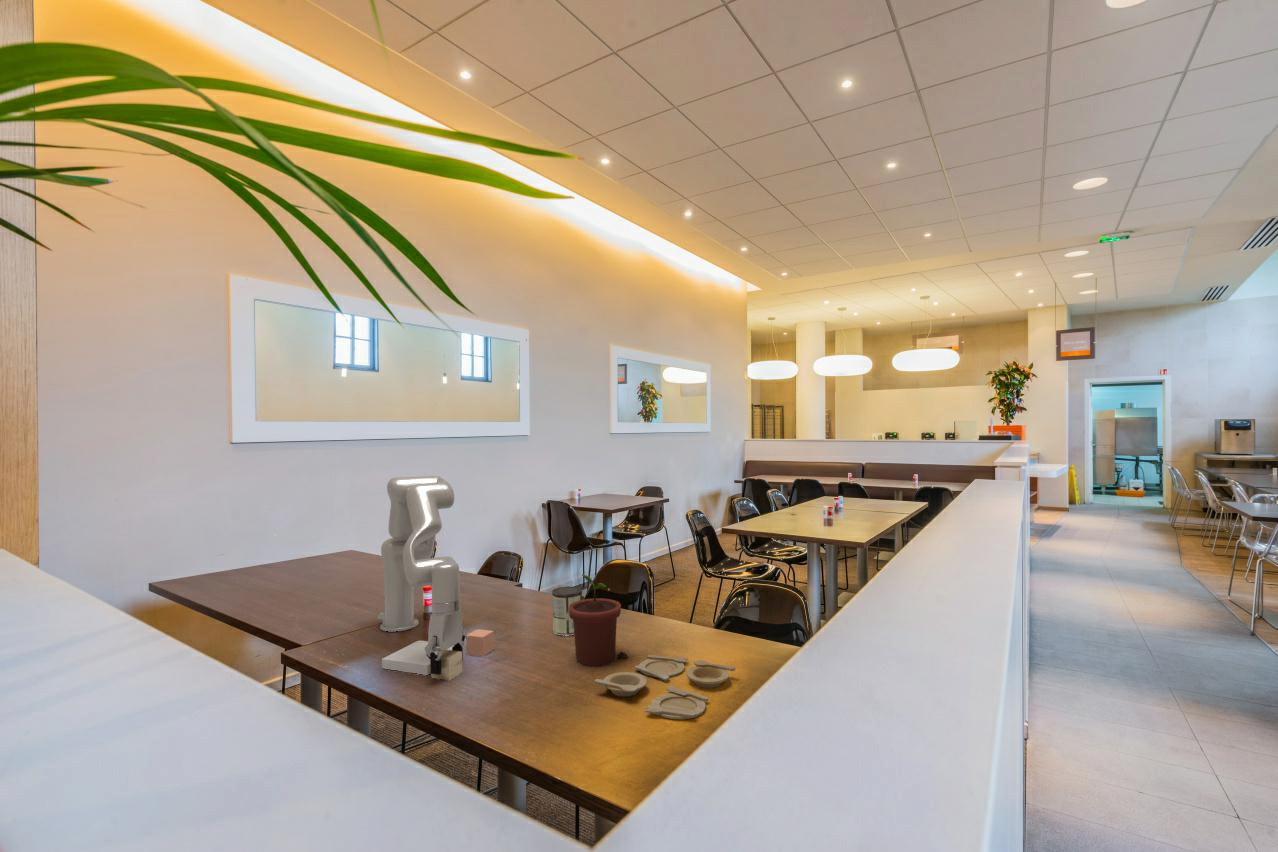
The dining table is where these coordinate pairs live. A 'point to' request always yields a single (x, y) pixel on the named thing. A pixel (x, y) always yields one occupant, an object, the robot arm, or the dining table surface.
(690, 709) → the tableware set
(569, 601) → the coffee can
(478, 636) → the terracotta cube
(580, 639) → the potted plant
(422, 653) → the grey base board
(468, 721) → the dining table surface
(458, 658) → the brass cube
